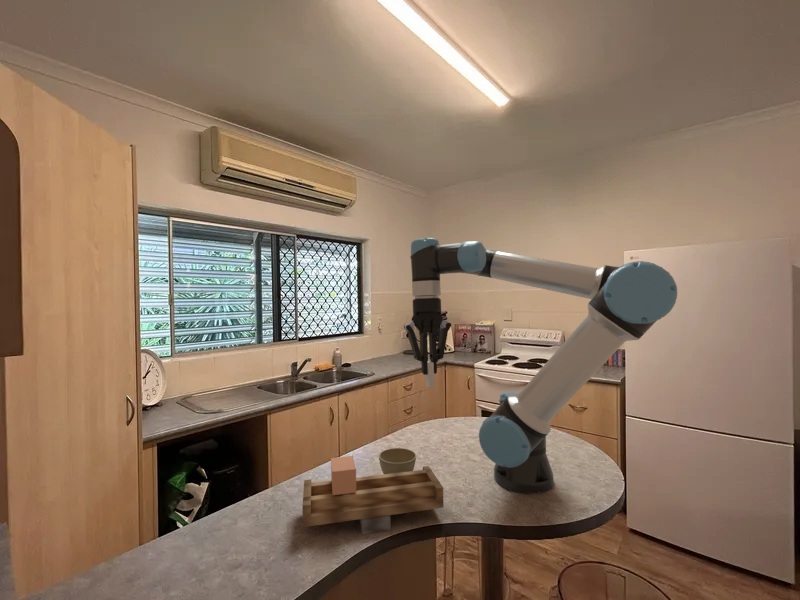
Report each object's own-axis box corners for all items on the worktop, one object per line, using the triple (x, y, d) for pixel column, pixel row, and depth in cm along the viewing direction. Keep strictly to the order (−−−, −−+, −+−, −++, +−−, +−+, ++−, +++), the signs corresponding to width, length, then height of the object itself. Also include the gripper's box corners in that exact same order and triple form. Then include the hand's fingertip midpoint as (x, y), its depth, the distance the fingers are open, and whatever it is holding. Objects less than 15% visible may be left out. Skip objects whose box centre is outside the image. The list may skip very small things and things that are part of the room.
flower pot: (413, 492, 96) (412, 464, 96) (374, 489, 98) (374, 461, 98) (419, 474, 106) (418, 448, 106) (384, 471, 108) (383, 446, 108)
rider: (353, 487, 88) (352, 455, 88) (356, 503, 81) (355, 469, 81) (331, 490, 87) (331, 458, 87) (332, 506, 80) (332, 471, 80)
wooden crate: (428, 494, 95) (428, 464, 95) (444, 522, 83) (444, 488, 83) (304, 510, 88) (304, 478, 88) (303, 543, 77) (302, 506, 77)
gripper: (443, 297, 106) (446, 381, 106) (399, 298, 103) (402, 386, 103) (455, 296, 99) (458, 386, 99) (407, 298, 95) (411, 392, 95)
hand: (429, 386), depth 101 cm, fingers closed
